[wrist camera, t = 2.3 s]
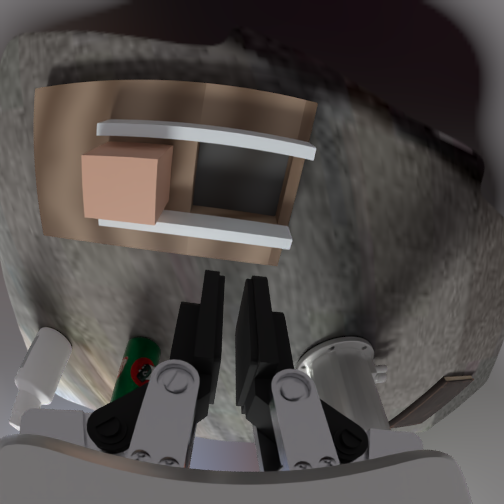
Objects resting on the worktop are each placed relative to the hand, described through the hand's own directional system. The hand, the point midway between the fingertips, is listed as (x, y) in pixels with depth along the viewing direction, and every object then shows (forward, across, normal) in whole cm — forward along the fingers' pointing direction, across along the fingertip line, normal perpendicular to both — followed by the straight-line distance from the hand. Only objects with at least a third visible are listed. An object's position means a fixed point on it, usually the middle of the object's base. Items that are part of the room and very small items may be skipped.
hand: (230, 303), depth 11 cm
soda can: (+17, +10, +26) cm, 33 cm away
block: (+15, +8, 0) cm, 17 cm away
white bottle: (+17, +26, +30) cm, 44 cm away
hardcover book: (+18, -60, +48) cm, 79 cm away
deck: (+17, +8, 0) cm, 19 cm away
